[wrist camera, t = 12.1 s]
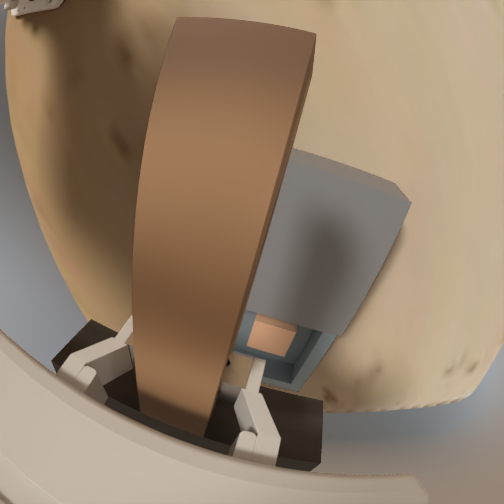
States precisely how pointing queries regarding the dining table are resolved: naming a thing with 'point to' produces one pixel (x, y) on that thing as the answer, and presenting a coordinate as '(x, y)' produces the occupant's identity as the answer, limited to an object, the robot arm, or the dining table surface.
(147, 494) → the robot arm
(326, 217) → the grey slab
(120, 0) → the dining table surface
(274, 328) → the tile
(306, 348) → the box
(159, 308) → the wooden t-shaped pusher
